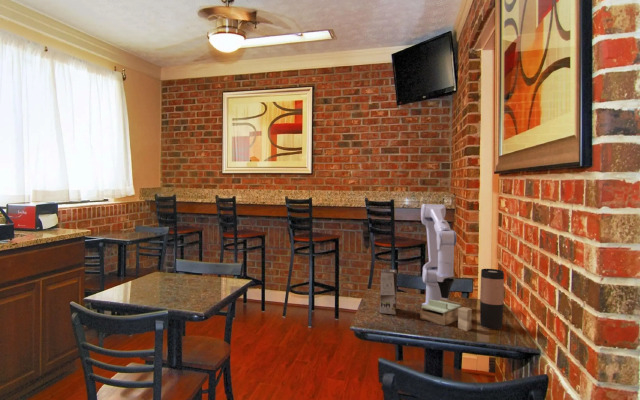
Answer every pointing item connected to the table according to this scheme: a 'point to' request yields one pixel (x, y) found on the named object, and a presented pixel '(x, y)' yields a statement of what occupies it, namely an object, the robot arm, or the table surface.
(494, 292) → the travel mug
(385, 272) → the coffee box
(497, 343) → the table surface
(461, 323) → the wooden block
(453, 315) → the wooden box
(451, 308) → the cabinet door
